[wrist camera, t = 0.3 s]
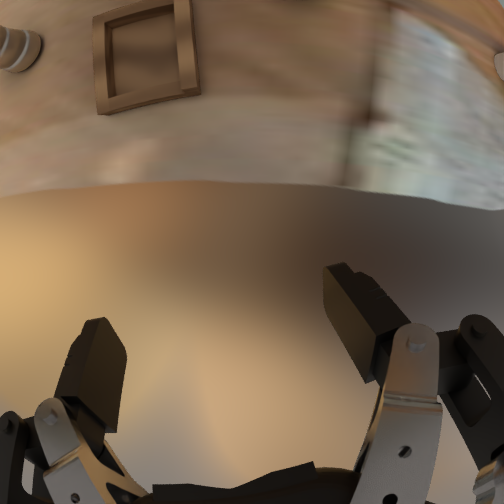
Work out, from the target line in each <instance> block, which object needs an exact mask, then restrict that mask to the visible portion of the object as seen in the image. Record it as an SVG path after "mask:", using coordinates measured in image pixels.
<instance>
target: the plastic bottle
mask: <svg viewBox="0 0 504 504" xmlns="http://www.w3.org/2000/svg"><path fill="white" fill-rule="evenodd" d="M40 47H41V40H40V37H39V35H38V34H36V33H35V32H34V31H31V30H16V29H10V28H6V27H3V26H1V25H0V68H1V69H3V70H5V71H8V72H11V73H15V72H20V71H23V70H25V69H26V68H28V67H29V66H30V65H31V64H32V63H33V62H34V61H35V59H36V58H37V56H38V54H39V51H40Z"/></svg>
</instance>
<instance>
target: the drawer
mask: <svg viewBox="0 0 504 504" xmlns="http://www.w3.org/2000/svg"><path fill="white" fill-rule="evenodd" d="M93 67H94V82H95V94H96V104H97V113H98V115H112V114H115V113H119V112H122V111H126V110H129V109H133V108H137V107H141V106H145V105H150V104H154V103H158V102H163V101H168V100H173V99H178V98H183V97H189V96H195V95H201V89H200V80H199V71H198V62H197V52H196V42H195V31H194V20H193V8H192V0H144V1H140V2H137V3H133V4H130V5H127V6H123V7H120V8H117V9H114V10H111V11H108V12H105V13H103V14H100V15H97V16H95V17H93Z"/></svg>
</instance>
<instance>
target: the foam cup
mask: <svg viewBox="0 0 504 504" xmlns="http://www.w3.org/2000/svg"><path fill="white" fill-rule="evenodd" d="M494 64H495V68H496V71H497V73H498V75H499V77H500V78H501V79H502V80H503V81H504V53H499V54H496V55H495V57H494Z"/></svg>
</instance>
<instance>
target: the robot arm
mask: <svg viewBox="0 0 504 504" xmlns="http://www.w3.org/2000/svg"><path fill="white" fill-rule="evenodd" d="M323 302H324V308H325V311H326V314H327V317H328V318H329V320H330V322H331V323H332V325H333V327H334V329H335V330H336V332H337V334H338V336H339V337H340V339H341V341H342V343H343V344H344V346H345V348H346V350H347V351H348V353H349V355H350V356H351V359H352V360H353V362H354V364H355V366H356V368H357V369H358V371H359V373H360V375H361V377H362V378H363V380H364V382H365V384H366V383H369V382H371V381H374V380H376V381H377V383H378V384H379V386H380V387H379V390H378V394H377V398H376V401H375V405H374V409H373V413H372V416H371V420H370V424H369V427H368V430H367V433H366V436H365V439H364V442H363V445H362V447H361V450H360V452H359V455H358V458H357V460H356V463H355V466H354V469H353V471H352V470H347V469H342V468H327V467H322V468H315V466H314V463H313V461H312V462H309V463H305V464H301V465H298V466H295V467H291V468H286V469H283V470H279V471H274V472H271V473H268V474H266V475H264V476H262V477H260V478H257V479H255V480H253V481H250V482H248V483H245V484H243V485H240V486H238V487H235V488H231V489H225V488H215V487H208V486H201V485H194V484H165V485H164V484H163V485H161V484H160V485H158V484H155V485H154V484H153V493H150V494H149V493H148V492H147V491H146V490H145V489H144V488H143V487H141V486H140V485H139V484H138V483H137V482H135V481H134V479H133V478H132V477H131V476H130V475H129V473H128V472H127V471H126V469H125V468H124V466H123V465H122V463H121V462H120V461H119V459H118V458H117V456H116V455H115V453H114V452H113V450H112V449H111V447H110V445H109V444H108V442H107V441H106V440H104V435H105V433H117V424H118V416H119V408H120V401H121V393H122V387H123V381H124V374H125V369H126V363H127V355H126V350H125V347H124V346H123V344H122V342H121V341H120V339H119V337H118V336H117V334H116V332H115V331H114V329H113V327H112V326H111V324H110V322H109V321H108V320H107V319H106V318H105V317H102V318H97V319H91V320H87V321H86V322H85V324H84V327H83V329H82V332H81V334H80V335H79V336H78V337H77V338H76V340H75V341H74V342H73V344H72V345H71V347H70V350H69V353H68V355H67V356H68V358H66V361H65V364H64V365H65V366H64V367H63V369H62V372H61V375H60V378H59V381H58V385H57V388H56V391H55V394H54V397H53V398H48V399H46V400H44V401H43V402H42V403H41V404H40V405H39V406H38V408H37V409H36V412H35V415H34V416H33V417H29V418H26V419H22V418H21V417H19V416H18V415H17V414H16V413H15V412H13V411H8V412H6V413H4V414H3V415H2V416H1V417H0V504H435V503H432V502H429V501H426V497H427V494H428V490H429V486H430V482H431V478H432V474H433V470H434V465H435V460H436V455H437V449H438V443H439V438H440V431H441V423H442V414H443V408H442V404H441V403H438V402H437V395H440V397H441V399H442V400H443V402H444V404H445V406H446V408H447V409H448V411H449V413H450V415H451V417H452V418H453V420H454V422H455V424H456V426H457V428H458V429H459V431H460V433H461V435H462V437H463V439H464V441H465V443H466V445H467V447H468V449H469V451H470V453H471V455H472V457H473V459H474V461H475V463H476V465H477V468H478V470H479V473H478V475H477V477H476V480H475V485H474V486H473V493H474V494H475V495H476V503H475V504H504V336H503V334H502V333H501V332H500V331H499V330H498V329H497V328H496V326H495V325H494V324H493V323H492V322H491V321H490V320H489V319H487V318H486V317H484V316H482V315H476V314H472V315H468V316H466V317H465V318H463V319H462V321H461V323H460V326H459V328H458V329H456V330H450V331H444V332H437V333H435V332H434V331H433V330H432V329H431V328H430V327H428V326H426V325H423V324H419V323H411V321H410V320H409V319H408V318H407V317H406V316H405V315H404V313H403V312H402V311H401V310H400V309H399V307H398V306H397V305H396V304H395V303H394V302H393V300H392V299H391V298H390V297H389V296H387V294H386V293H385V292H384V290H383V289H381V288H380V286H379V285H378V284H377V283H376V281H375V280H374V279H373V278H372V277H370V276H368V275H366V274H364V273H362V272H357V273H354V272H353V271H352V270H351V269H350V267H349V266H348V265H347V264H346V263H345V262H340V263H337V264H333V265H330V266H326V267H324V268H323ZM475 375H477V377H478V378H479V380H480V381H481V383H482V384H483V386H484V387H485V389H486V391H487V392H488V394H489V395H490V398H491V400H490V398H489V397H488V395H487V394H486V392H485V390H484V389H483V387H482V386H481V384H480V383H479V381H478V380H477V378H476V377H475ZM24 458H25V459H27V460H28V461H30V462H31V463H33V464H34V465H35V468H34V477H33V488H32V495H30V494H28V493H27V492H26V491H25V490H24V488H23V486H22V472H23V464H24Z"/></svg>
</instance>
